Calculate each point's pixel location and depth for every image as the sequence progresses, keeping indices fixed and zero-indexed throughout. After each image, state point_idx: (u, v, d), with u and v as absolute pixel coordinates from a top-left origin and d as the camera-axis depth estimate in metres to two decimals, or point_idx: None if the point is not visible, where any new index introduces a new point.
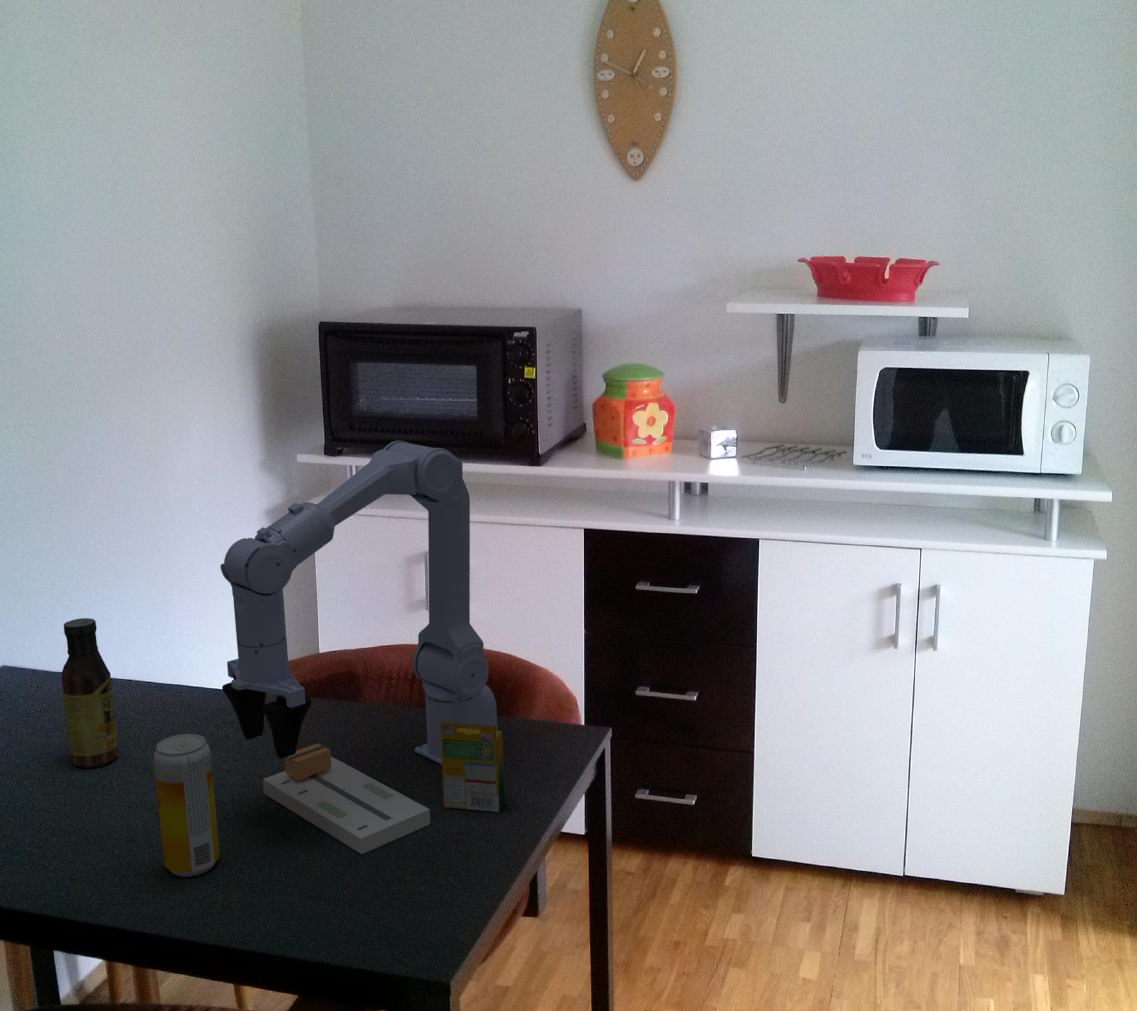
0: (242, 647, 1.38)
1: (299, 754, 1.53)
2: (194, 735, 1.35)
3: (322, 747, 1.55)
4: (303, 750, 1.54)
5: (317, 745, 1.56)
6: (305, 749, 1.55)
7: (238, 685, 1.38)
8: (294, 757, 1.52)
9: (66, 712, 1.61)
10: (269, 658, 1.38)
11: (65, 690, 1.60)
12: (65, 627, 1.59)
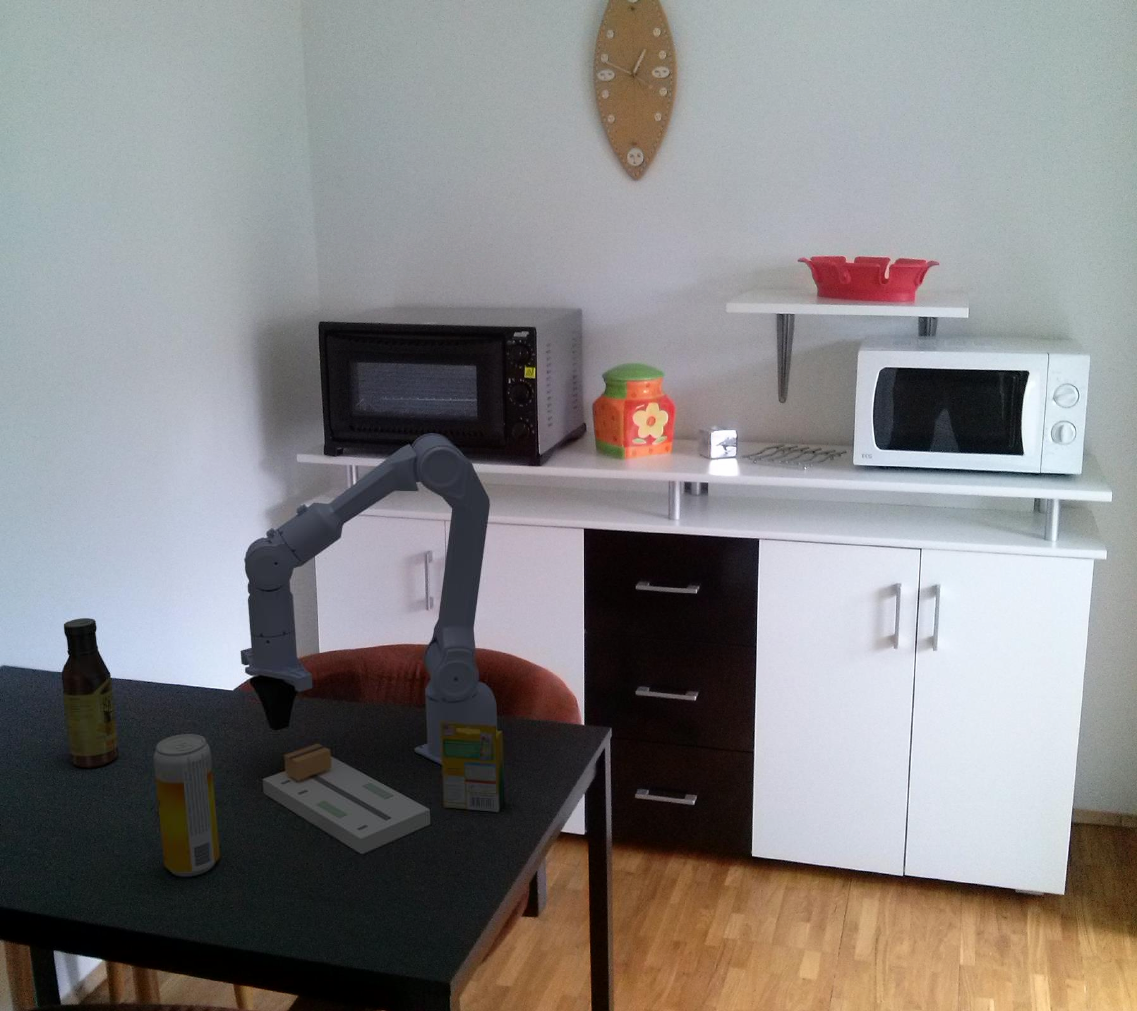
0: (255, 637, 1.53)
1: (299, 754, 1.53)
2: (194, 735, 1.35)
3: (322, 747, 1.55)
4: (303, 750, 1.54)
5: (317, 745, 1.56)
6: (305, 749, 1.55)
7: (251, 671, 1.53)
8: (294, 757, 1.52)
9: (66, 712, 1.61)
10: (279, 647, 1.53)
11: (65, 690, 1.60)
12: (65, 627, 1.59)
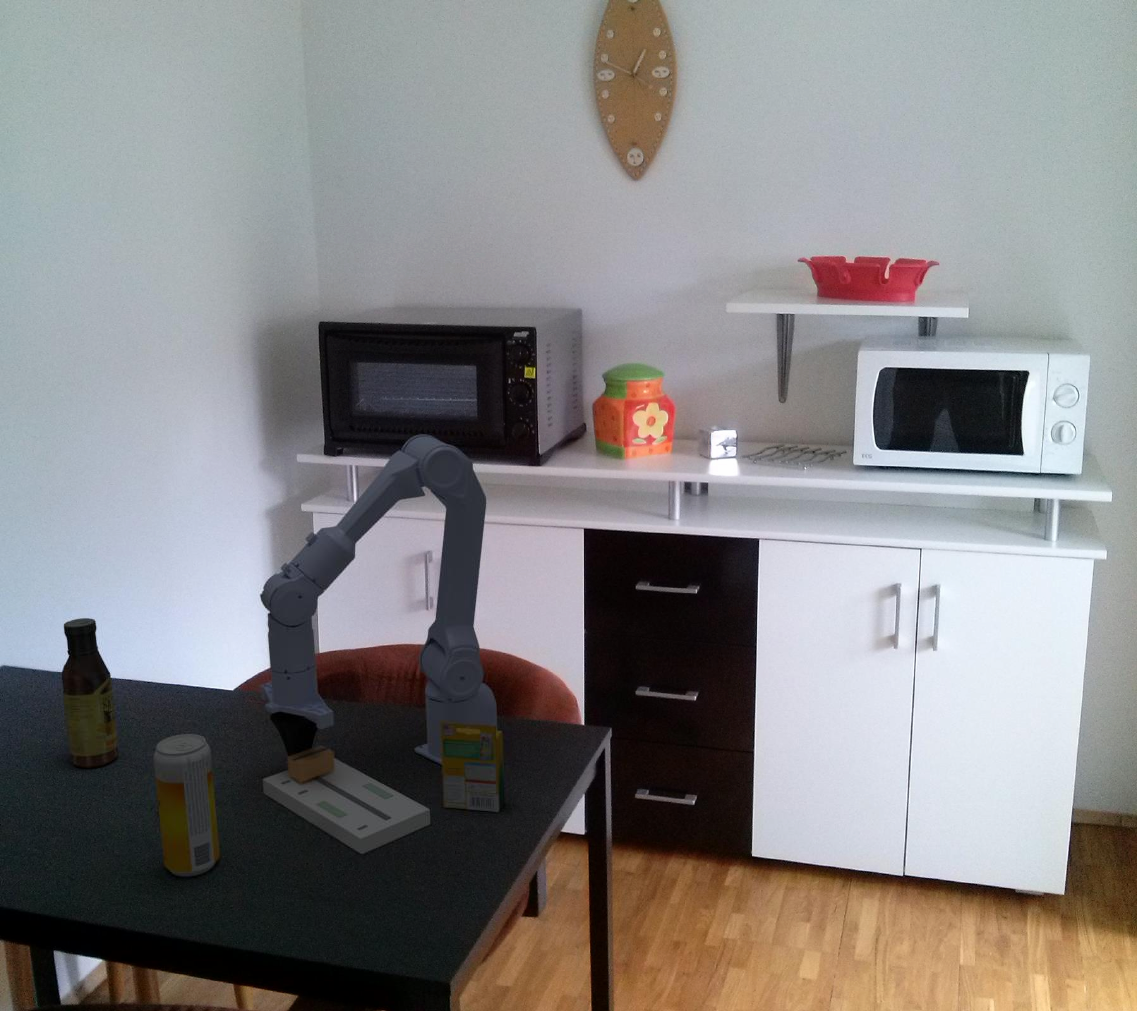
0: (275, 673, 1.50)
1: (302, 756, 1.52)
2: (194, 735, 1.35)
3: (326, 748, 1.54)
4: (306, 751, 1.54)
5: (320, 747, 1.55)
6: (308, 751, 1.54)
7: (272, 708, 1.50)
8: (298, 759, 1.52)
9: (66, 712, 1.61)
10: (300, 683, 1.50)
11: (65, 690, 1.60)
12: (65, 627, 1.59)
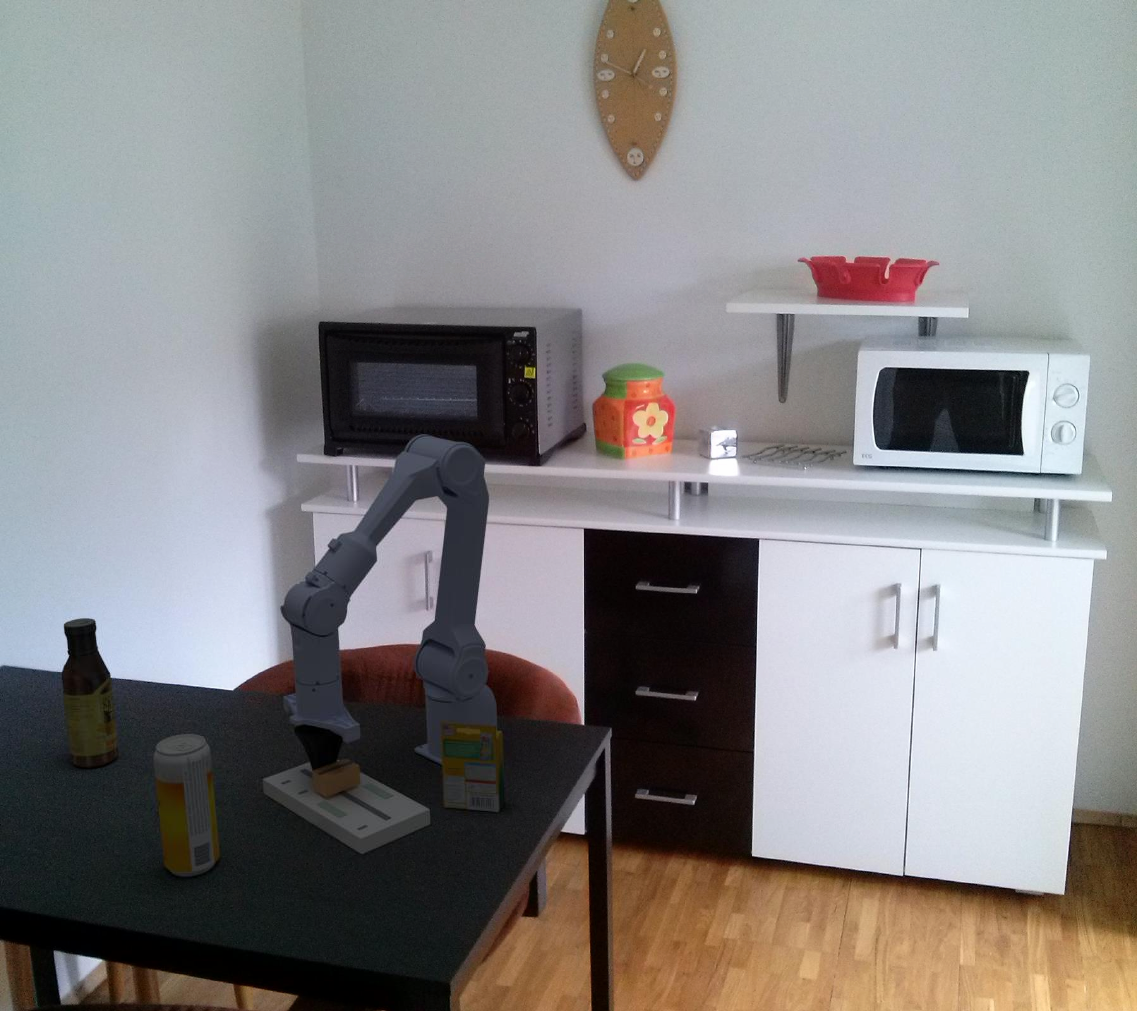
0: (300, 685, 1.46)
1: (327, 770, 1.48)
2: (194, 735, 1.35)
3: (351, 762, 1.50)
4: (331, 765, 1.50)
5: (345, 760, 1.51)
6: (333, 764, 1.50)
7: (296, 721, 1.46)
8: (323, 773, 1.48)
9: (66, 712, 1.61)
10: (325, 695, 1.46)
11: (65, 690, 1.60)
12: (65, 627, 1.59)
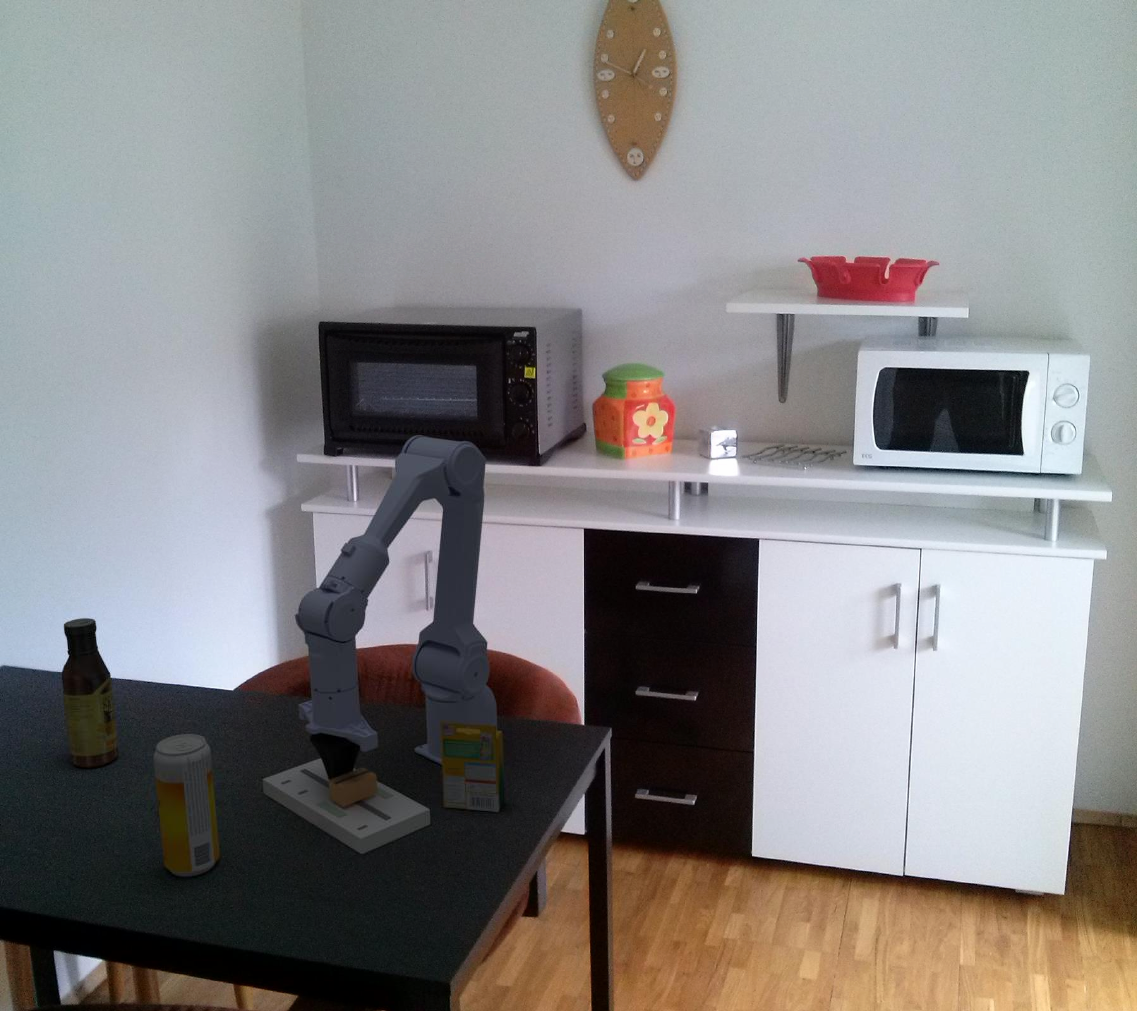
0: (317, 693, 1.44)
1: (344, 779, 1.46)
2: (194, 735, 1.35)
3: (368, 771, 1.48)
4: (347, 774, 1.47)
5: (362, 769, 1.49)
6: (350, 773, 1.47)
7: (313, 729, 1.44)
8: (340, 783, 1.45)
9: (66, 712, 1.61)
10: (342, 703, 1.44)
11: (65, 690, 1.60)
12: (65, 627, 1.59)
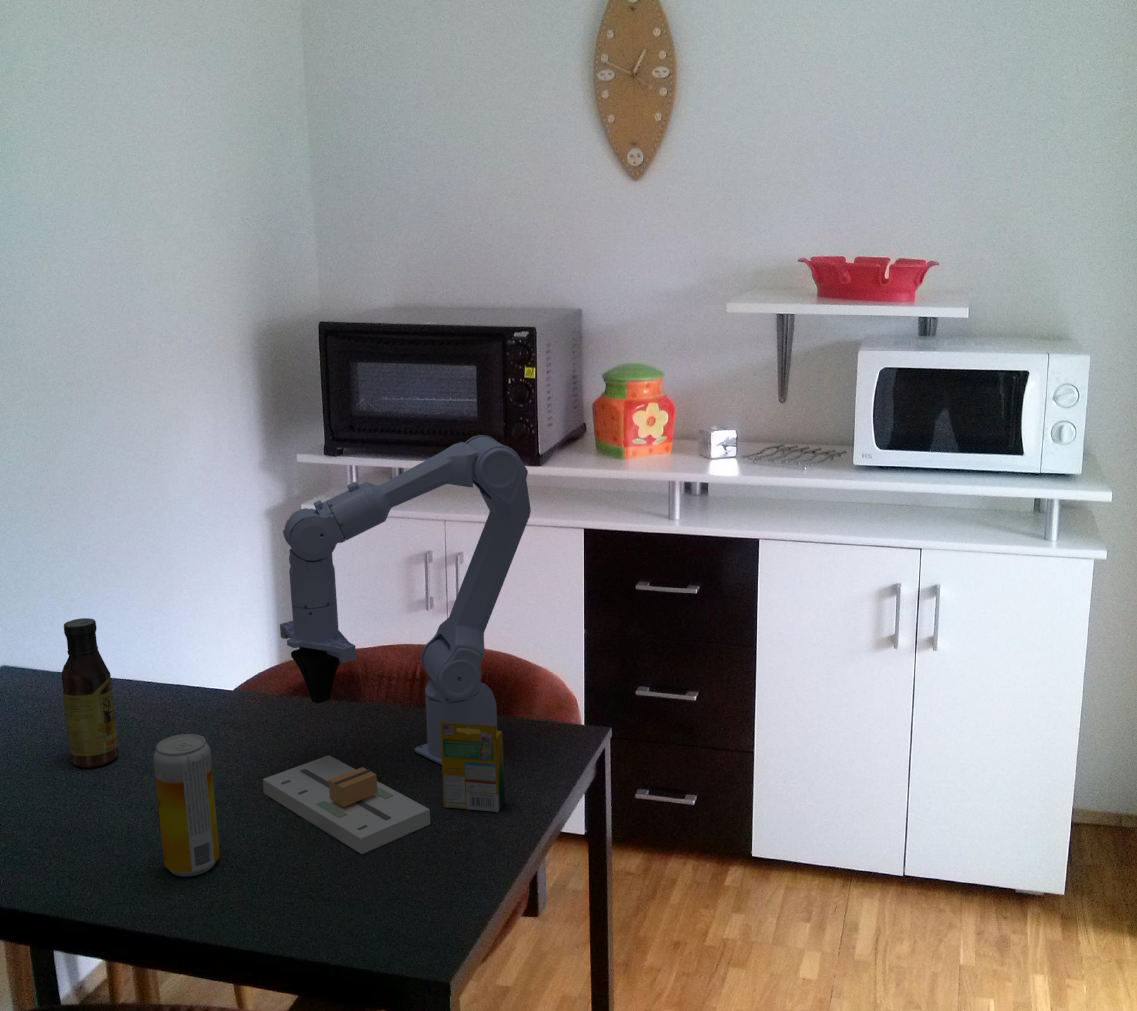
0: (297, 609, 1.51)
1: (344, 779, 1.46)
2: (194, 735, 1.35)
3: (368, 771, 1.48)
4: (347, 774, 1.47)
5: (362, 769, 1.49)
6: (350, 773, 1.47)
7: (294, 643, 1.51)
8: (340, 783, 1.45)
9: (66, 712, 1.61)
10: (322, 618, 1.52)
11: (65, 690, 1.60)
12: (65, 627, 1.59)
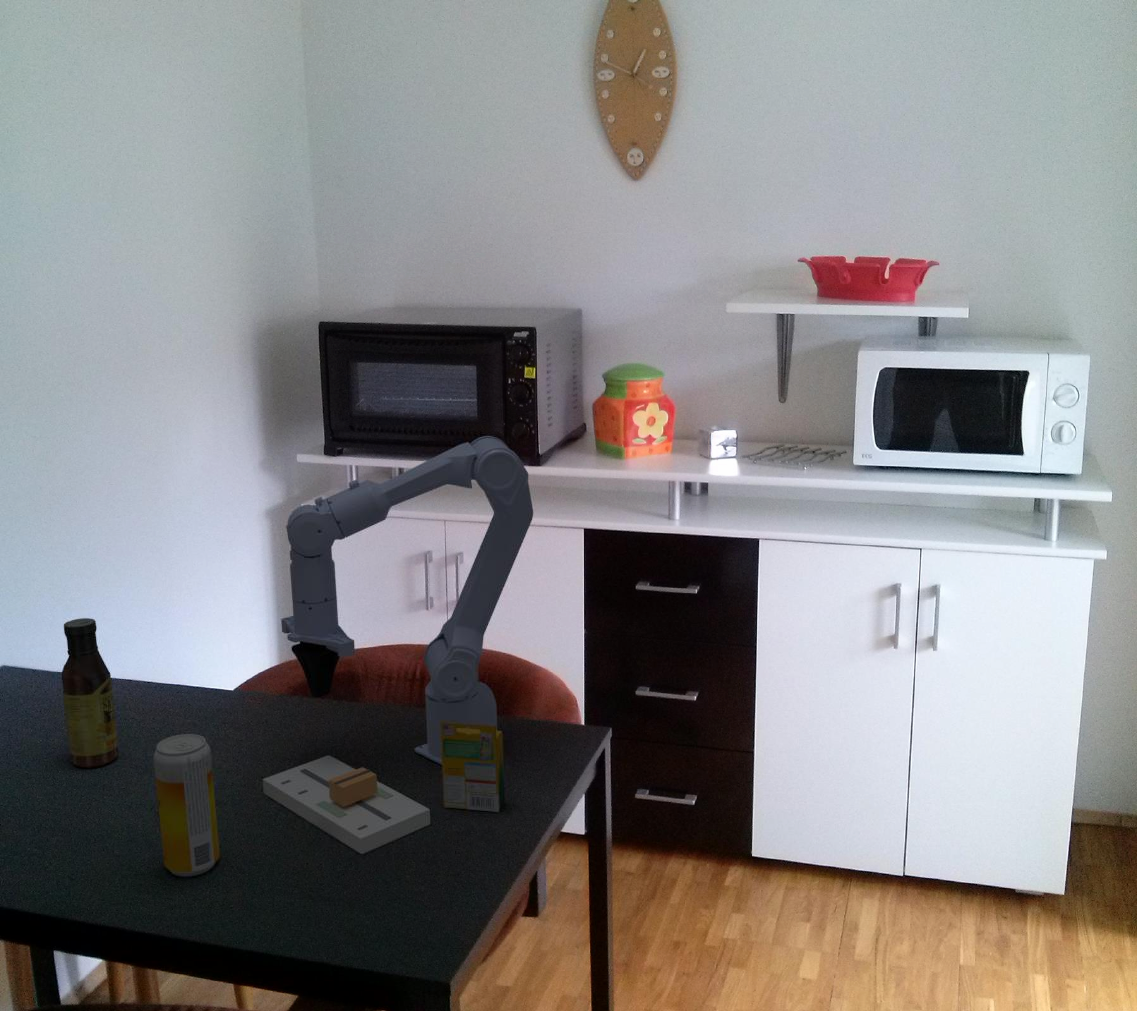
0: (297, 603, 1.53)
1: (344, 779, 1.46)
2: (194, 735, 1.35)
3: (368, 771, 1.48)
4: (347, 774, 1.47)
5: (362, 769, 1.49)
6: (350, 773, 1.47)
7: (294, 638, 1.53)
8: (340, 783, 1.45)
9: (66, 712, 1.61)
10: (321, 613, 1.53)
11: (65, 690, 1.60)
12: (65, 627, 1.59)
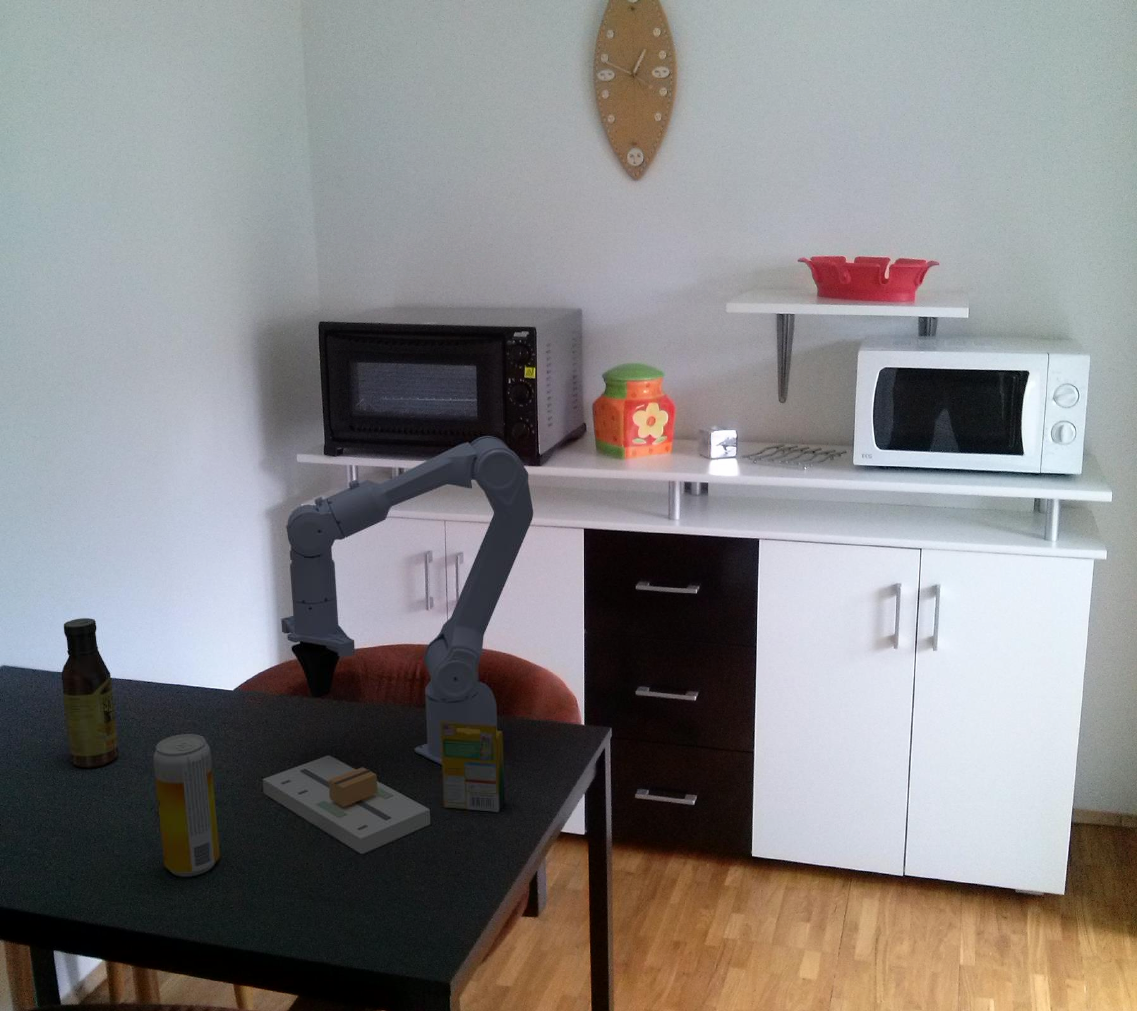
0: (297, 603, 1.53)
1: (344, 779, 1.46)
2: (194, 735, 1.35)
3: (368, 771, 1.48)
4: (347, 774, 1.47)
5: (362, 769, 1.49)
6: (350, 773, 1.47)
7: (294, 638, 1.53)
8: (340, 783, 1.45)
9: (66, 712, 1.61)
10: (321, 613, 1.53)
11: (65, 690, 1.60)
12: (65, 627, 1.59)
